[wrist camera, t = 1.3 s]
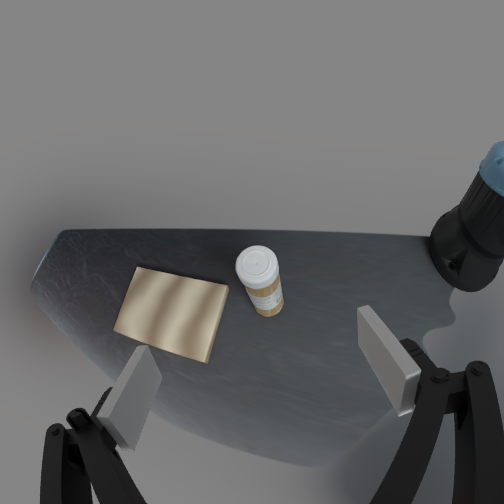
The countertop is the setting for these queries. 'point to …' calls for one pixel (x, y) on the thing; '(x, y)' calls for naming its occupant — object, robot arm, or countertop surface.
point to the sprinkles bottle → (261, 279)
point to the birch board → (172, 313)
